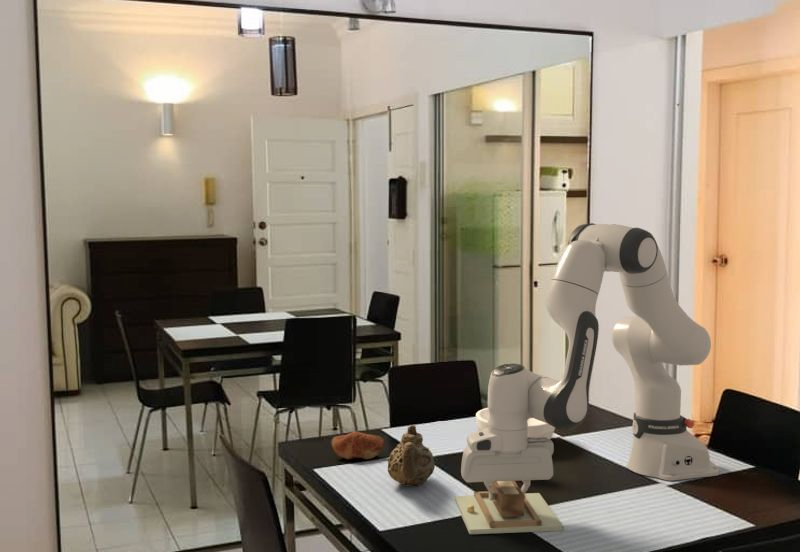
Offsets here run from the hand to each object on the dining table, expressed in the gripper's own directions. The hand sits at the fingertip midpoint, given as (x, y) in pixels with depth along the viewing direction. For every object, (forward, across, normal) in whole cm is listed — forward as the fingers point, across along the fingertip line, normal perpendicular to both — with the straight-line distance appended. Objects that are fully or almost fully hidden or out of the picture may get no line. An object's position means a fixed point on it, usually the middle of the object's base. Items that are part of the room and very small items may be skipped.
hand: (506, 499), depth 196 cm
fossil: (+4, +31, -44) cm, 54 cm away
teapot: (+4, +19, -21) cm, 29 cm away
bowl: (+4, -14, -52) cm, 54 cm away
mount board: (+4, 0, 0) cm, 4 cm away
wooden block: (+2, 0, 0) cm, 2 cm away
